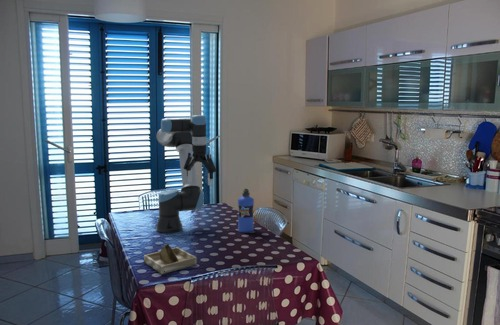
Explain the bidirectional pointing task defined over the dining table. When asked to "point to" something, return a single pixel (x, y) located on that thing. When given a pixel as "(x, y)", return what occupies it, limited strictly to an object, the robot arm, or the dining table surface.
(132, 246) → the dining table surface
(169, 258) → the rock
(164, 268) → the box
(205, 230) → the dining table surface
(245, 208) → the blue plastic bottle
